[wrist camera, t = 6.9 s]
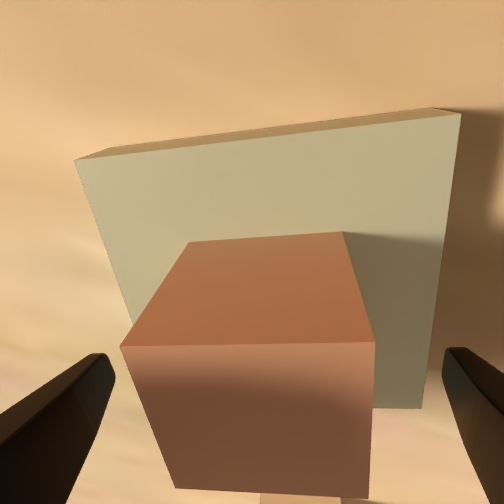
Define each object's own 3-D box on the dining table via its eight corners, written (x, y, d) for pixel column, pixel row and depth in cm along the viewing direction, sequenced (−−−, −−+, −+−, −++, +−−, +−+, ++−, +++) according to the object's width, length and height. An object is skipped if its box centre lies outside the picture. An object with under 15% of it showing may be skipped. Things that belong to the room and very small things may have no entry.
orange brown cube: (343, 352, 11) (368, 499, 7) (214, 354, 12) (175, 488, 8) (341, 231, 9) (375, 342, 5) (188, 242, 10) (119, 346, 6)
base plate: (405, 366, 14) (421, 408, 12) (177, 368, 16) (162, 405, 14) (430, 107, 9) (461, 113, 8) (109, 147, 11) (73, 160, 9)
